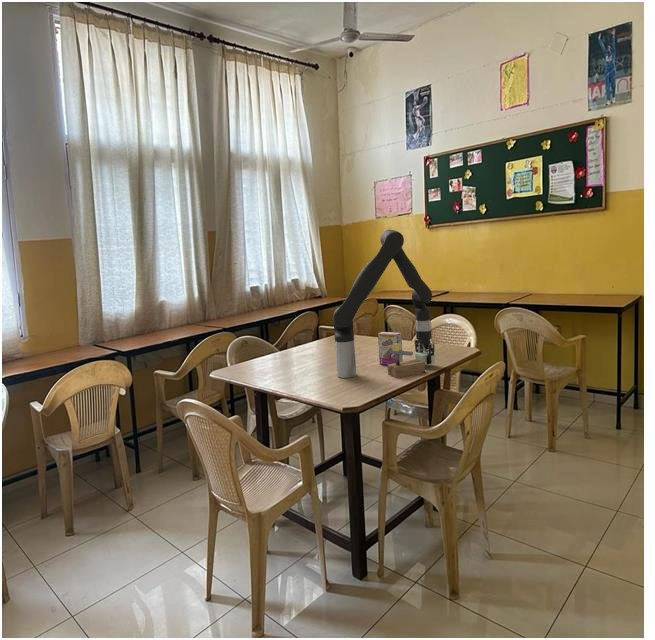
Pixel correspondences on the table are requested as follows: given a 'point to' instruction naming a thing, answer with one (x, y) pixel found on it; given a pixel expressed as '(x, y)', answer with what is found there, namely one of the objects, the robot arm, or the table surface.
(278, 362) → the table surface
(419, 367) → the case
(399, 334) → the candy bar box
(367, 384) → the table surface
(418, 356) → the pale green block
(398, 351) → the key
